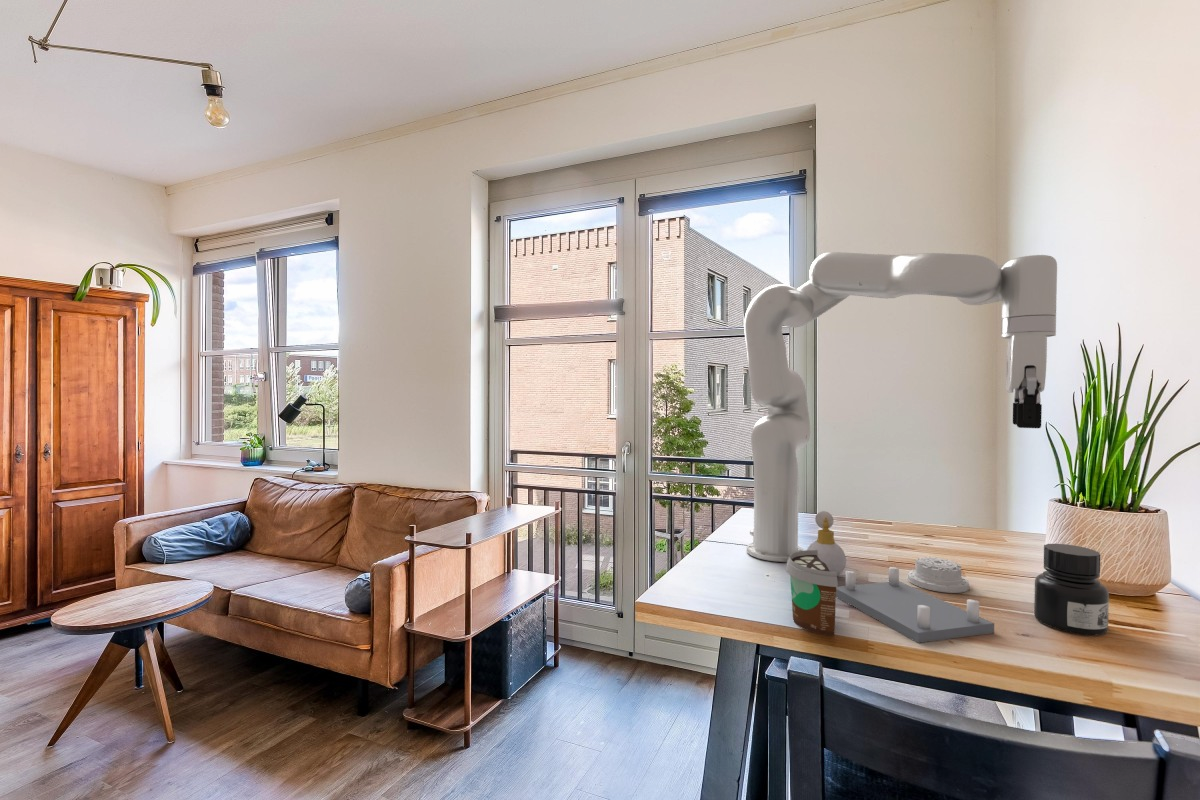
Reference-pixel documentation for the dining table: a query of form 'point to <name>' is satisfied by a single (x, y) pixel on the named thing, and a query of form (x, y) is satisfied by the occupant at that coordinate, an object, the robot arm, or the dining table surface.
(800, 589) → the food container
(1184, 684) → the dining table surface
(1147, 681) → the dining table surface
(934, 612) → the seating plate
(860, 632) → the dining table surface
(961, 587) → the white cake
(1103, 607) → the ink bottle
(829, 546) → the perfume bottle
